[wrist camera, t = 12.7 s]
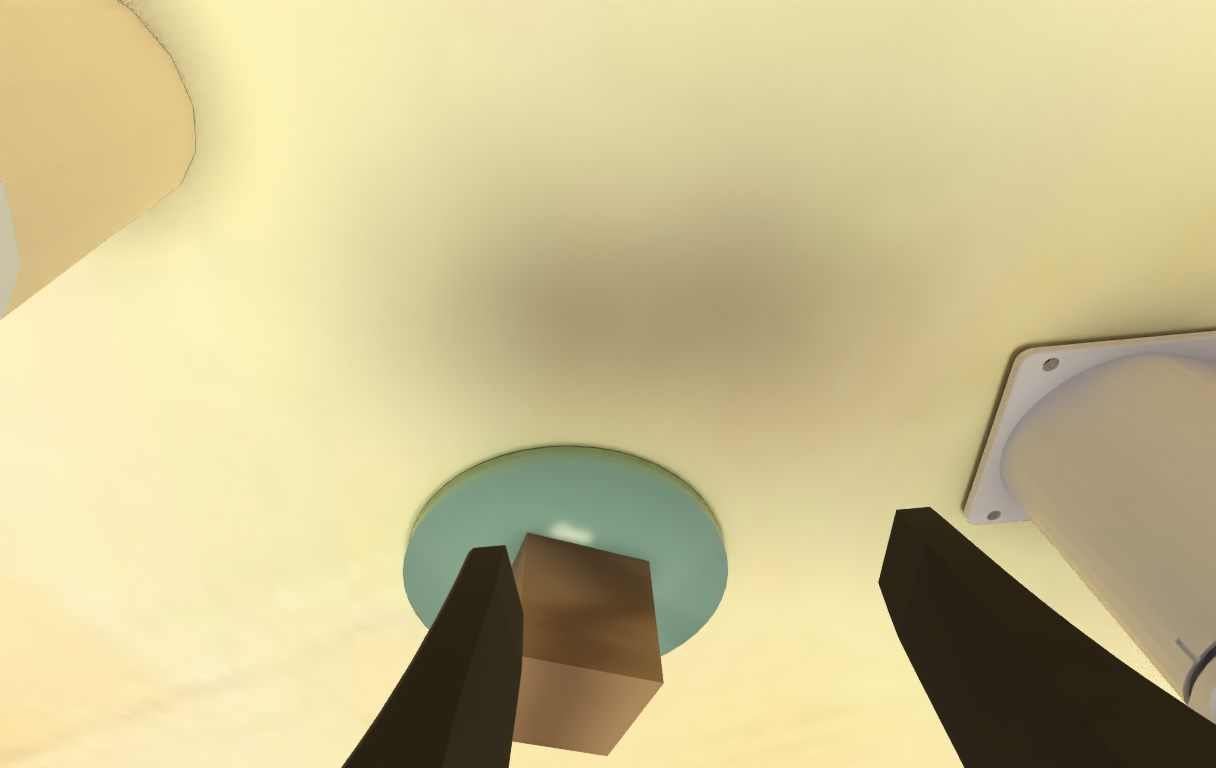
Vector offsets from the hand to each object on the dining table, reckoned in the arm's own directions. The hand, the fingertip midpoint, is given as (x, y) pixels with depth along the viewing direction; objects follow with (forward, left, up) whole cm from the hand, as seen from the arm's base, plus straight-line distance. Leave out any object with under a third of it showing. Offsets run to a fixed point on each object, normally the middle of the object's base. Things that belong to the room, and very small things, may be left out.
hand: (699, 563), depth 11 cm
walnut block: (+4, +11, -8) cm, 14 cm away
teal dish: (+4, +11, -9) cm, 15 cm away
